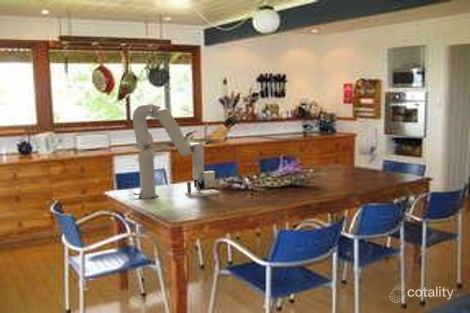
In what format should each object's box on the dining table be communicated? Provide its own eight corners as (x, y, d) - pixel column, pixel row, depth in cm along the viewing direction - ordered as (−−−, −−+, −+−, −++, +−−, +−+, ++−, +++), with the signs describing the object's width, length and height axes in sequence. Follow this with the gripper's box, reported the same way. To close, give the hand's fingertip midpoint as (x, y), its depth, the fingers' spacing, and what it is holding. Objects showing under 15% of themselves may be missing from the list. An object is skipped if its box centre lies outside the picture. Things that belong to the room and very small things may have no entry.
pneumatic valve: (218, 186, 350) (217, 169, 348) (202, 188, 345) (201, 171, 343) (215, 185, 355) (214, 168, 353) (199, 187, 350) (198, 170, 349)
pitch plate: (190, 197, 315) (189, 183, 314) (184, 195, 324) (184, 180, 323) (219, 194, 324) (219, 179, 323) (213, 191, 333) (212, 177, 332)
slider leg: (198, 192, 321) (197, 181, 320) (196, 192, 324) (196, 181, 323) (202, 192, 322) (202, 181, 321) (200, 191, 325) (200, 180, 324)
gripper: (188, 161, 327) (189, 186, 329) (198, 163, 311) (199, 190, 313) (198, 159, 330) (199, 185, 332) (209, 162, 314) (210, 189, 317)
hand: (199, 188), depth 323 cm, fingers open, 9 cm apart
